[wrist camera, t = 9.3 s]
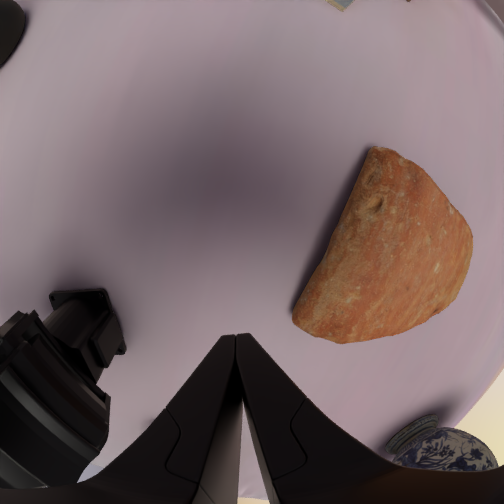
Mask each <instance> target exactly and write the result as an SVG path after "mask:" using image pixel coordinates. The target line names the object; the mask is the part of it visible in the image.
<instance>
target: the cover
mask: <svg viewBox="0 0 504 504" xmlns="http://www.w3.org/2000/svg"><path fill="white" fill-rule="evenodd" d="M325 1H327V2H328V3H330V4H331V5H333V6H334V7H336V8H337V9H339V10H340V11H342V12H343V11H344V10H345V9H346V8H347V7H348V6H349V5H350V4H351V3H352V2H353V1H354V0H325Z"/></svg>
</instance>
